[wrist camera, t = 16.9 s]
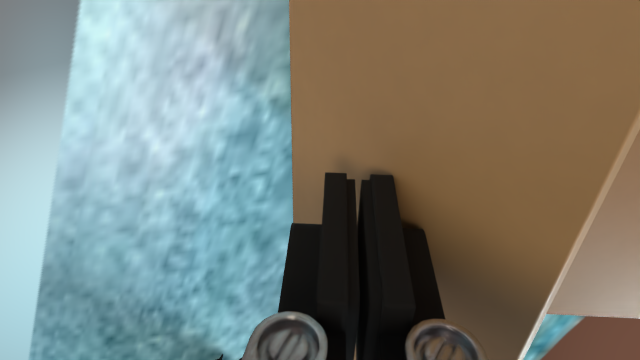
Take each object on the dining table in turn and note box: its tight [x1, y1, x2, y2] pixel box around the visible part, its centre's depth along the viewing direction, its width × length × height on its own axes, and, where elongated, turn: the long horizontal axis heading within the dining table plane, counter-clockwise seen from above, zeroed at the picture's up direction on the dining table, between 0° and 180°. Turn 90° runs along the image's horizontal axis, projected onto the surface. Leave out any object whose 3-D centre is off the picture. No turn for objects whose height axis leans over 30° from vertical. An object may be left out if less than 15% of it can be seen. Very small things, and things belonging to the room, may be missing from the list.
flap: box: [289, 0, 640, 360], centre depth 11 cm, size 8×15×1 cm
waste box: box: [546, 130, 640, 318], centre depth 19 cm, size 17×15×13 cm
